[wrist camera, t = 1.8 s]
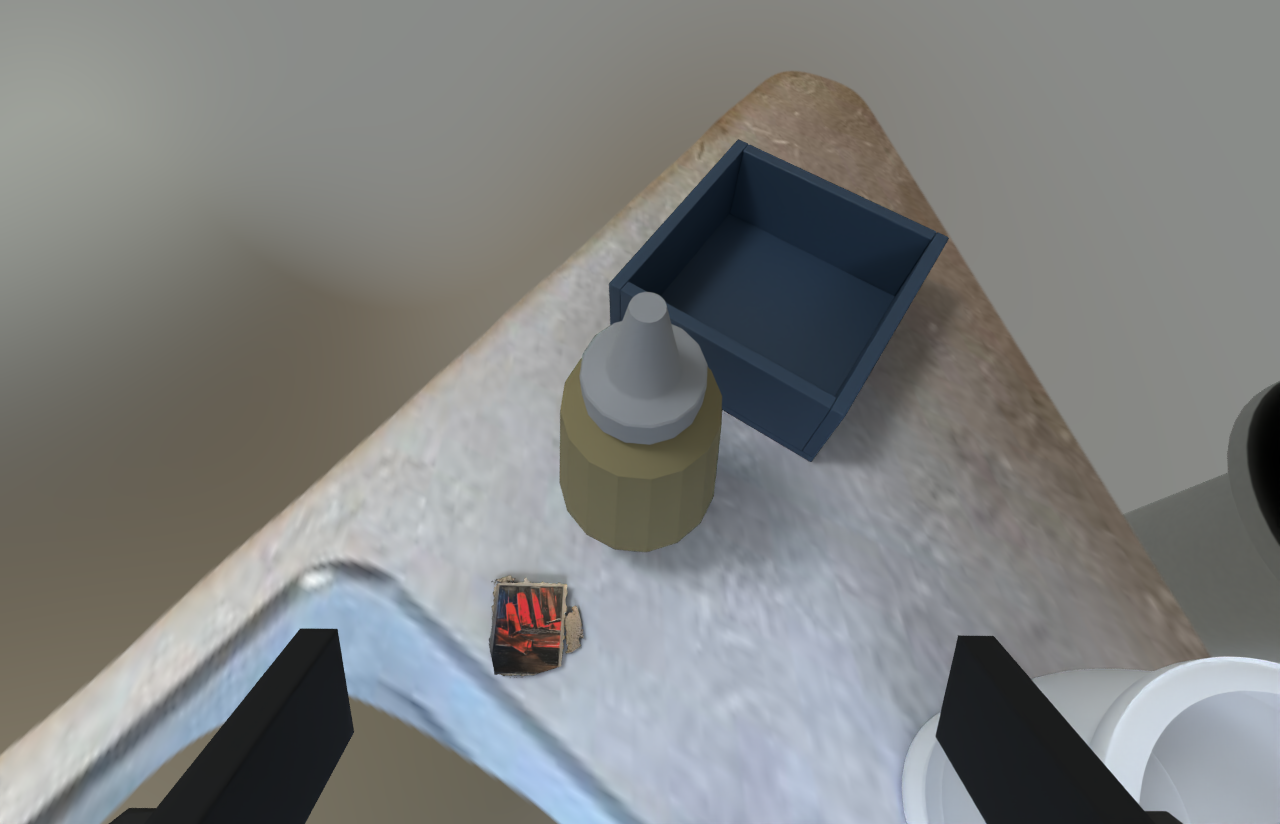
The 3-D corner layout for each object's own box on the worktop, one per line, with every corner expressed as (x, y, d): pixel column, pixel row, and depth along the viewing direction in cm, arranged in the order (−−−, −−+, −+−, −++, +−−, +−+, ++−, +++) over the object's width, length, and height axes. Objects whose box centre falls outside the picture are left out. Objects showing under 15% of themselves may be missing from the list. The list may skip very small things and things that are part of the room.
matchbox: (495, 686, 30) (494, 685, 29) (481, 583, 32) (480, 581, 31) (588, 660, 30) (588, 659, 30) (568, 561, 32) (567, 559, 32)
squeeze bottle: (606, 596, 32) (588, 476, 16) (542, 470, 35) (472, 263, 19) (733, 525, 34) (834, 353, 18) (662, 412, 37) (692, 178, 21)
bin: (906, 300, 41) (949, 237, 36) (810, 462, 36) (845, 416, 30) (724, 208, 45) (738, 138, 39) (610, 343, 39) (608, 283, 34)
